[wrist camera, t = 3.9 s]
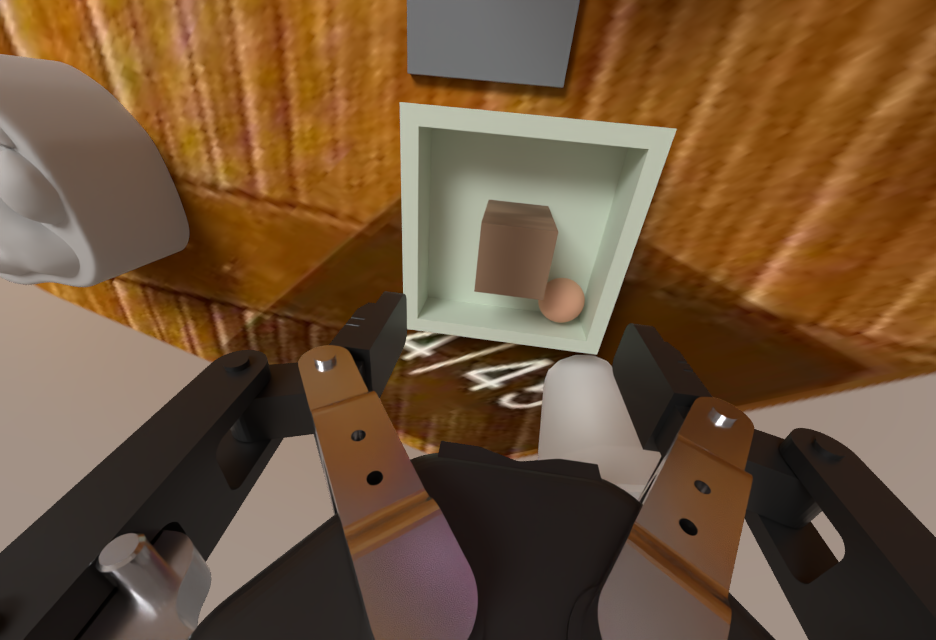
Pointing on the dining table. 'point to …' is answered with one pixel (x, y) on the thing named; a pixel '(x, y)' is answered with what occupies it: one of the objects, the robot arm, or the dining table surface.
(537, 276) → the block
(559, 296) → the ball
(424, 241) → the bin
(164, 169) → the lumpy-topped squat cylinder
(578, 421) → the foam cup
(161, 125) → the dining table surface
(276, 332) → the dining table surface
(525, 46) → the pad
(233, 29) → the dining table surface
